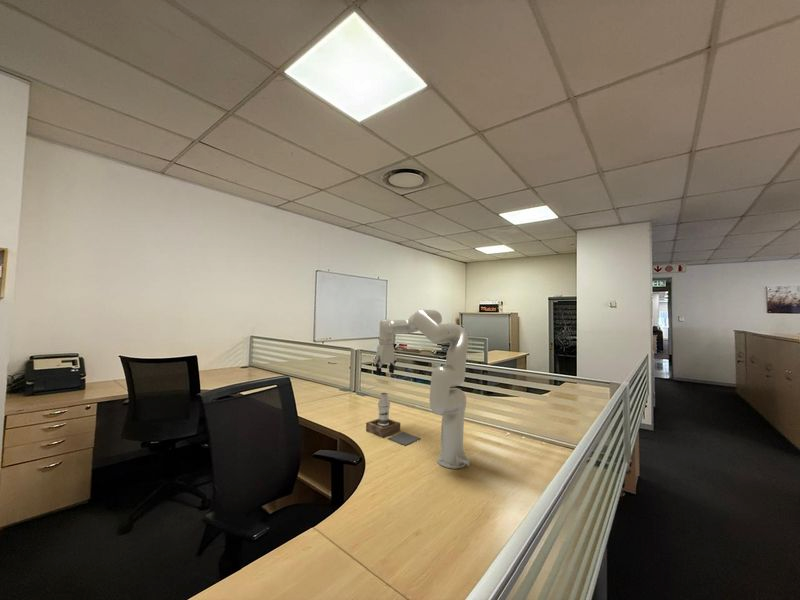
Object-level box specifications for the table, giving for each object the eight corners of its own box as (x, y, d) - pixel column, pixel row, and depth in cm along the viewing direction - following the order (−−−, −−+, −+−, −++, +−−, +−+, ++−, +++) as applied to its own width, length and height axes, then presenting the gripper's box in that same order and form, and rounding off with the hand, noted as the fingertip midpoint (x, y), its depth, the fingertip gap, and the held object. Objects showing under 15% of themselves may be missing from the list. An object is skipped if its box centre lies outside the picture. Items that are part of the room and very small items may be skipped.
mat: (420, 439, 165) (420, 438, 165) (405, 446, 156) (405, 444, 156) (403, 432, 173) (403, 431, 173) (387, 439, 164) (387, 437, 164)
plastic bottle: (382, 428, 179) (383, 391, 180) (391, 431, 175) (392, 393, 175) (374, 431, 174) (375, 393, 175) (383, 434, 170) (384, 396, 170)
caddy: (400, 431, 175) (400, 422, 175) (383, 438, 165) (383, 429, 165) (383, 425, 184) (383, 417, 184) (366, 431, 174) (366, 422, 174)
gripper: (392, 340, 185) (391, 371, 184) (369, 342, 172) (368, 375, 171) (401, 342, 180) (401, 373, 179) (379, 344, 167) (378, 377, 166)
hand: (385, 374), depth 175 cm, fingers open, 9 cm apart
